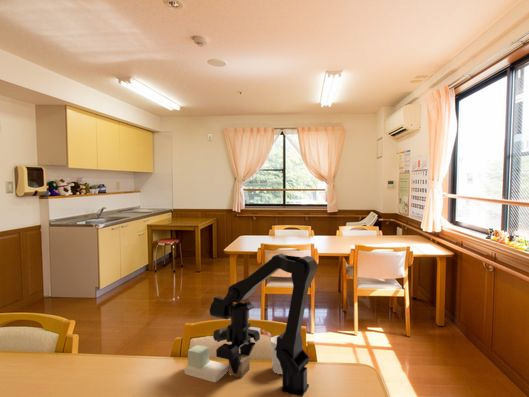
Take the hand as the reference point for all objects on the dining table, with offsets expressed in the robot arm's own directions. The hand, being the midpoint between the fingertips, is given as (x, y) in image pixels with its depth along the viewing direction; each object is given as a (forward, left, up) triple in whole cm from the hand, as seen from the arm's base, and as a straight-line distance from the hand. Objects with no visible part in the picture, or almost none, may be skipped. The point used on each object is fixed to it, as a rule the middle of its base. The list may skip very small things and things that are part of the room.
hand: (239, 369), depth 107 cm
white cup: (-12, -8, -1) cm, 14 cm away
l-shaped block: (+10, +5, -1) cm, 11 cm away
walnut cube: (0, 0, -1) cm, 1 cm away
